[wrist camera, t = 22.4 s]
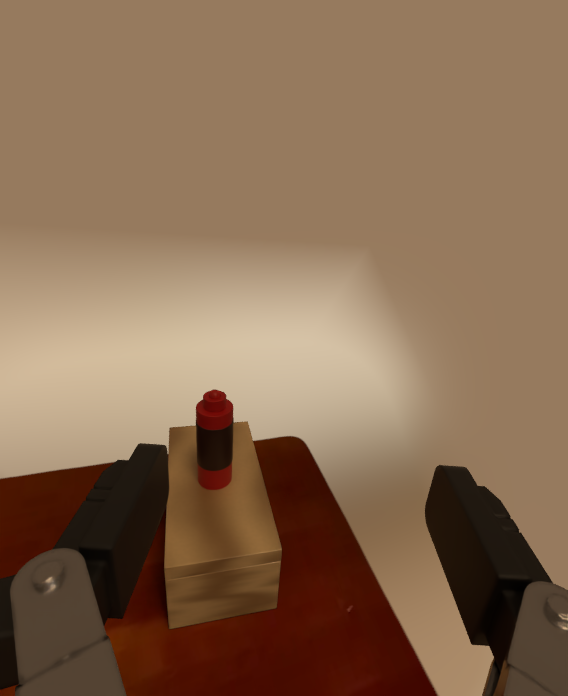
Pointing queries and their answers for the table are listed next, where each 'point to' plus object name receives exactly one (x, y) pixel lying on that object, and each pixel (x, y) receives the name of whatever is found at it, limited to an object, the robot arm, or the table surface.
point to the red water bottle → (214, 440)
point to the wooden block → (218, 536)
